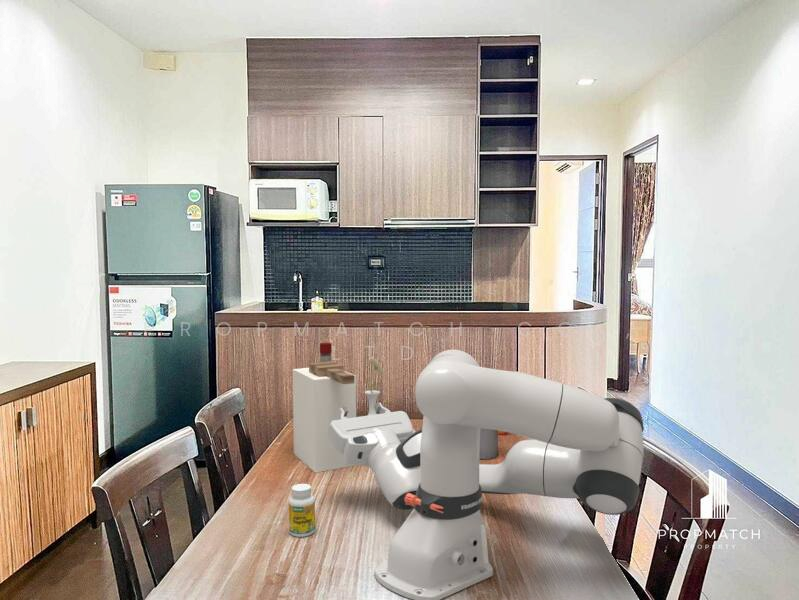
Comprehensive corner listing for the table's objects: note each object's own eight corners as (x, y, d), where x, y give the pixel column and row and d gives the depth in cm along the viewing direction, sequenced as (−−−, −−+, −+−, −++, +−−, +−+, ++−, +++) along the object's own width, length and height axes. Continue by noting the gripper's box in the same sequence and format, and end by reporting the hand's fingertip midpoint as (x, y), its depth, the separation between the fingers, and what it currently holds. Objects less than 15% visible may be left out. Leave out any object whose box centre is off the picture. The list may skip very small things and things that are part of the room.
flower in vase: (389, 438, 190) (389, 360, 188) (353, 438, 190) (352, 360, 188) (390, 427, 203) (390, 354, 201) (356, 427, 203) (356, 354, 201)
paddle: (361, 382, 155) (361, 372, 154) (336, 385, 151) (336, 375, 151) (332, 370, 172) (332, 361, 172) (309, 372, 169) (308, 363, 169)
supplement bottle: (314, 525, 128) (313, 481, 128) (316, 536, 123) (315, 490, 122) (288, 527, 127) (287, 483, 126) (289, 539, 122) (289, 492, 121)
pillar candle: (478, 447, 181) (477, 398, 180) (504, 454, 174) (504, 403, 173) (457, 455, 174) (457, 404, 173) (484, 462, 167) (484, 410, 166)
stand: (356, 465, 165) (355, 375, 164) (315, 472, 160) (314, 379, 158) (332, 447, 181) (331, 365, 180) (293, 453, 176) (292, 369, 174)
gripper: (423, 431, 141) (399, 392, 151) (343, 444, 132) (323, 402, 142) (417, 450, 144) (394, 411, 154) (338, 464, 135) (319, 422, 145)
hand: (359, 407), depth 148 cm, fingers open, 8 cm apart
